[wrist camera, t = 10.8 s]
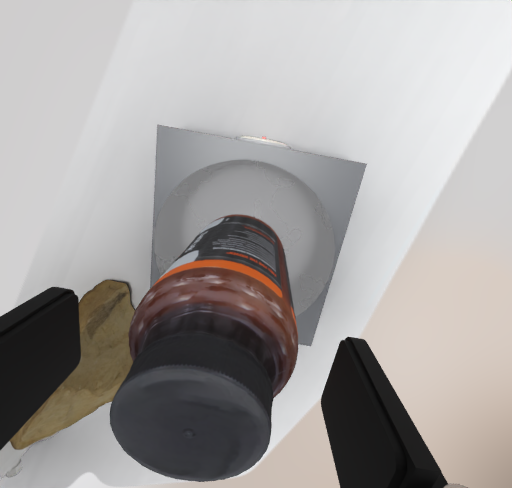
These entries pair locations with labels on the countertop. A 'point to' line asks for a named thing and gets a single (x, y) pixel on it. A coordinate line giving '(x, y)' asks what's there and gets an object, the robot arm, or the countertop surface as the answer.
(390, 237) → the countertop surface
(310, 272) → the scale pan
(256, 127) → the countertop surface
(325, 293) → the scale base
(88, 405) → the rock
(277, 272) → the supplement bottle
